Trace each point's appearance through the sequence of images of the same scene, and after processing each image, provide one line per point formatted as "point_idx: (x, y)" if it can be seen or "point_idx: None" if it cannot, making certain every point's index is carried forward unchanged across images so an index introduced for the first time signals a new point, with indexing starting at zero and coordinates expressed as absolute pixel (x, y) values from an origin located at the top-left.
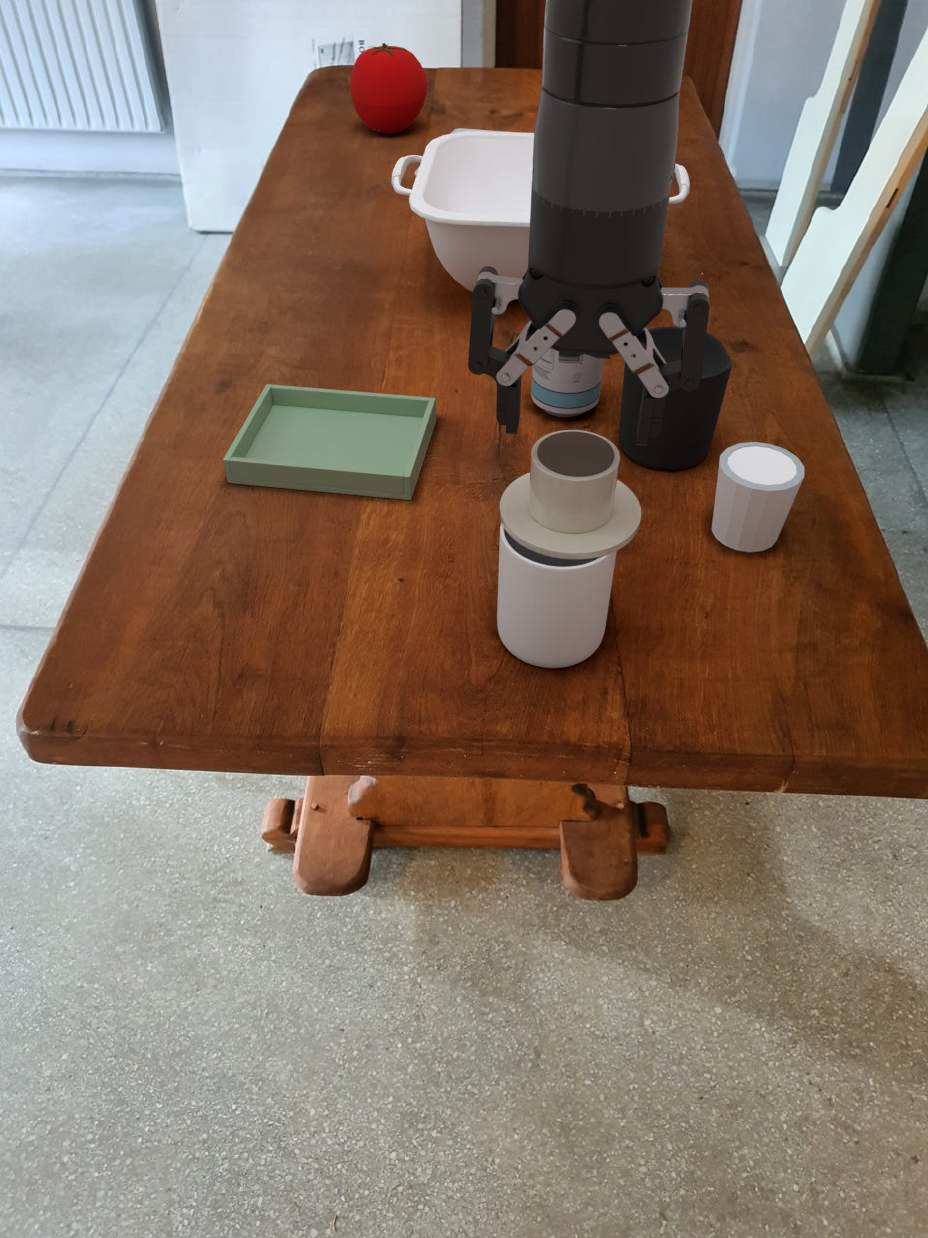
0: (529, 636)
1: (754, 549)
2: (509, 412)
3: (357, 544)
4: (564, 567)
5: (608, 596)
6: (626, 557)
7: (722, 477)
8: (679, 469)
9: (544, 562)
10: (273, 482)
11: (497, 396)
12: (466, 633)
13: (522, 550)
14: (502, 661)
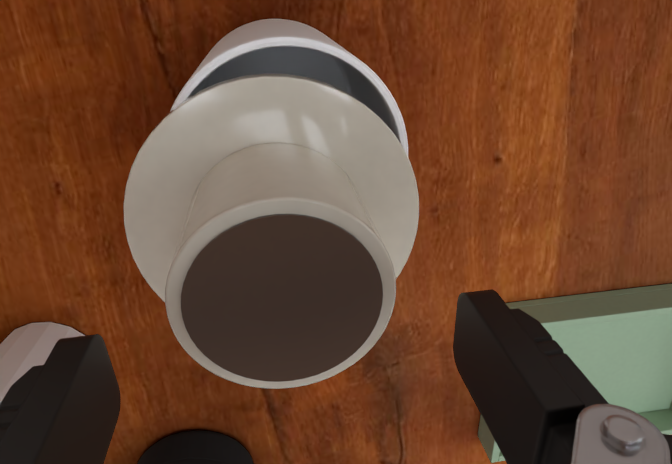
0: (304, 25)
1: (23, 327)
2: (518, 332)
3: (558, 212)
4: (257, 46)
5: None
6: None
7: None
8: (166, 437)
9: None
10: (669, 288)
11: (580, 374)
12: (397, 74)
13: None
14: (337, 25)
